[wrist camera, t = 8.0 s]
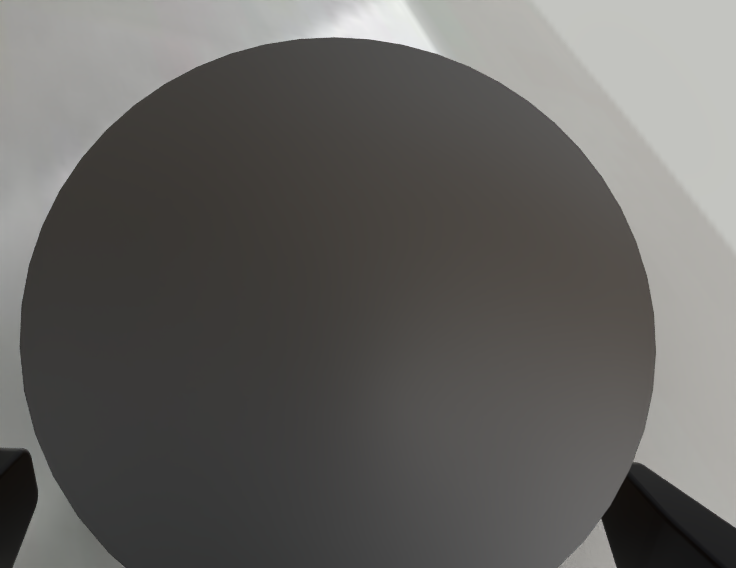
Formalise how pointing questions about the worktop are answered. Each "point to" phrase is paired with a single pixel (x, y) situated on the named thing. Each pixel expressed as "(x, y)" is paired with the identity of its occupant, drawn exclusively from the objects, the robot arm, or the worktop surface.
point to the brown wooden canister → (337, 321)
